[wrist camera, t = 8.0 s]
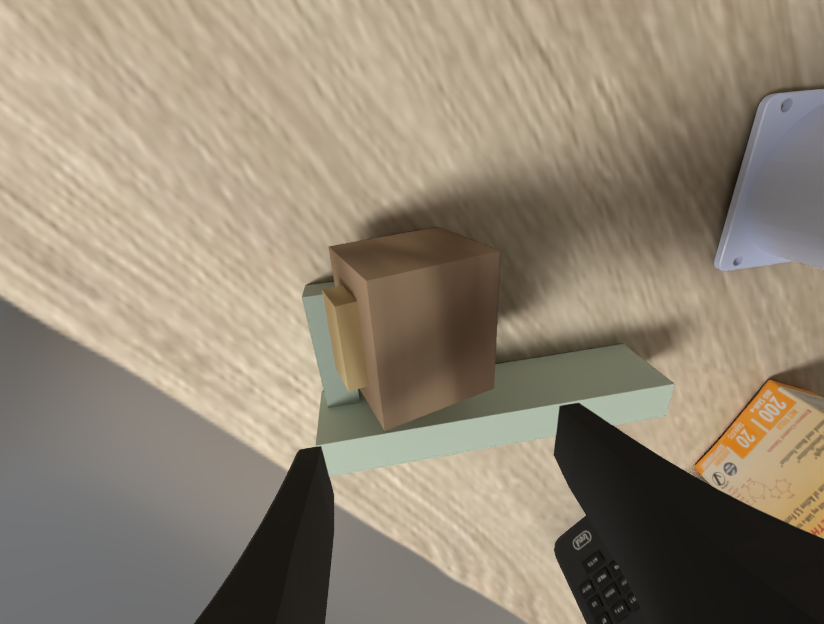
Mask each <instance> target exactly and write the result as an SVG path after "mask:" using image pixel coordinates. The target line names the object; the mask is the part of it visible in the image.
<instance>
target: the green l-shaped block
mask: <svg viewBox="0 0 824 624" xmlns="http://www.w3.org/2000/svg"><path fill="white" fill-rule="evenodd" d="M331 287H335V283H334V282H327V283H319V284H312V285H305V288H304V292H303V295H302V300H303V304H304V309H305V313H306V317H307V321H308V326H309V330H310V334H311V338H312V343H313V347H314V351H315V355H316V359H317V364H318V368H319V372H320V376H321V381H322V385H323V389H324V392H322V394H321V403H320V412H319V421H318V430H317V439H316V447H318V446H321V447H322V451H323V455H324V458H325V462H326V466H327V470H328V474H329V477H331V476H337V475H342V474H348V473H353V472H359V471H364V470H370V469H375V468H381V467H386V466H392V465H398V464H403V463H409V462H414V461H420V460H425V459H431V458H436V457H442V456H447V455H453V454H458V453H464V452H470V451H475V450H481V449H486V448H492V447H497V446H503V445H508V444H514V443H519V442H525V441H531V440H536V439H542V438H547V437H553V436H556V432H557V423H558V414H559V406H561V405H567V404H573V403H580V404H581V405H583V406H585V407H586V408H588V409H589V410H591V411H592V412H594V413H595V414H597V415H598V416H600V417H601V418H602V419H604V420H605V421H607V422H608V423H610V424H611V425H613V426H614V425H619V424H625V423H630V422H636V421H641V420H647V419H653V418H658V417H664V416H666V414H667V410H668V406H669V403H670V399H671V396H672V392H673V388H674V385H675V384H674V383H673V382H672V381H670V380H669V379H668V378H667V377H665V376H664V375H663V374H661V373H660V372H659V371H658V370H656V369H655V368H654V367H652V366H651V365H650V364H649V363H647V362H646V361H645V360H643V359H642V358H641V357H640V356H638V355H637V354H636V353H634V352H633V351H632V350H631V349H629V348H628V347H627V346H625V345H624V344H619V345H613V346H607V347H600V348H594V349H588V350H581V351H575V352H569V353H563V354H556V355H550V356H544V357H537V358H531V359H525V360H519V361H512V362H506V363H500V364H495V381H494V389H492V390H489V391H487V392H484V393H481V394H479V395H476V396H474V397H471V398H468V399H466V400H463V401H461V402H458V403H456V404H453V405H450V406H448V407H445V408H443V409H440V410H437V411H435V412H432V413H430V414H427V415H424V416H422V417H419V418H417V419H414V420H412V421H409V422H406V423H404V424H401V425H399V426H396V427H393V428H391V429H388V430H386V431H384V429H383V427H382V426H381V424H380V422H379V421H378V419H377V417H376V416H375V414H374V412H373V411H372V409H371V407H370V406H369V404H368V402H367V401H366V399H365V397H364V396H363V394H362V392H361V391H360V389H357V390H354V391H351V392H349V391H348V390H347V388H346V386H345V384H344V382H343V380H342V379H341V377H340V375H339V373H338V371H337V369H336V366H335V360H334V354H333V349H332V343H331V338H330V332H329V326H328V321H327V315H326V310H325V304H324V298H323V293H322V289H327V288H331Z"/></svg>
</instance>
